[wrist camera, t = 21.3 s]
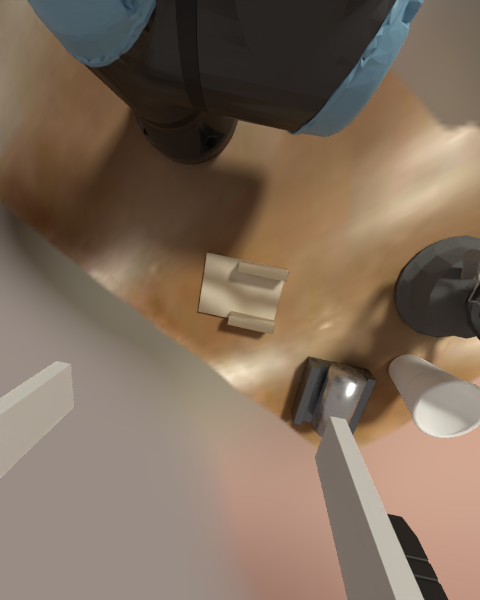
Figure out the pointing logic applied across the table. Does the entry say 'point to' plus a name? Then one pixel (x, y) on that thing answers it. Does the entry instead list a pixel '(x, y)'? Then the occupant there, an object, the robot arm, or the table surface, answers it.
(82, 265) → the table surface
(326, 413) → the grey metal cylinder
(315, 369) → the v block
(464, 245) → the lantern
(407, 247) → the table surface
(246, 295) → the bracket
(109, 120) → the table surface
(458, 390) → the cup
